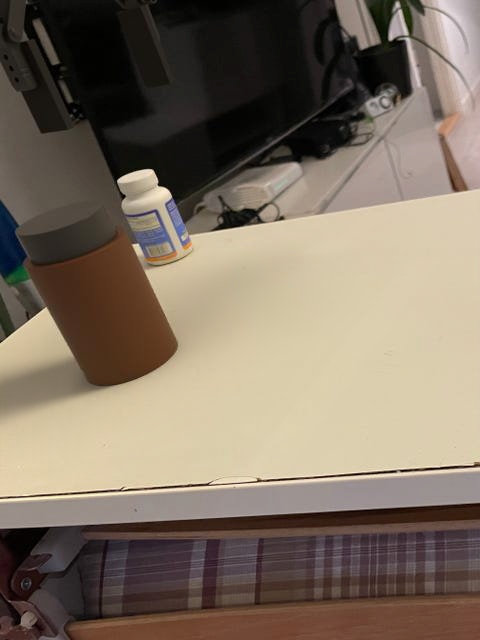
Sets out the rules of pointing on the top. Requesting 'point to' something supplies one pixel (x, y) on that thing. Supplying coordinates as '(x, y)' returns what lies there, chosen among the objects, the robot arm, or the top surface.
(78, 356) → the brown bottle
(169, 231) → the pill bottle
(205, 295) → the top surface
